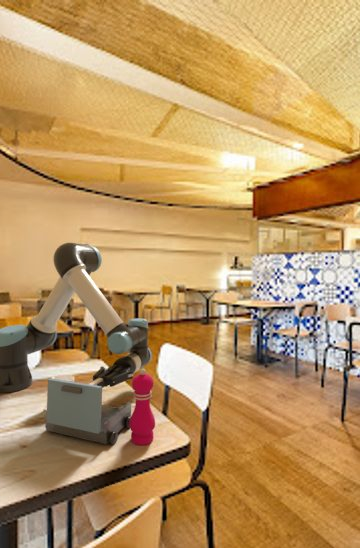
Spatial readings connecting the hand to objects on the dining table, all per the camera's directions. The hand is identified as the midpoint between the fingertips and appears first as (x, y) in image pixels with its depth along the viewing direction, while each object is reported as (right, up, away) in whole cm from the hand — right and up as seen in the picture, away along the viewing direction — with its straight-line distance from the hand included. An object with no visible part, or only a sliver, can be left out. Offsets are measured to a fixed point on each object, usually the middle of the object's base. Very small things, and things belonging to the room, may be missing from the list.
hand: (88, 390), depth 91 cm
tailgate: (-3, -8, -7) cm, 10 cm away
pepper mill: (+16, -12, -4) cm, 21 cm away
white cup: (-13, -12, +15) cm, 23 cm away
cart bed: (0, -12, +2) cm, 12 cm away
